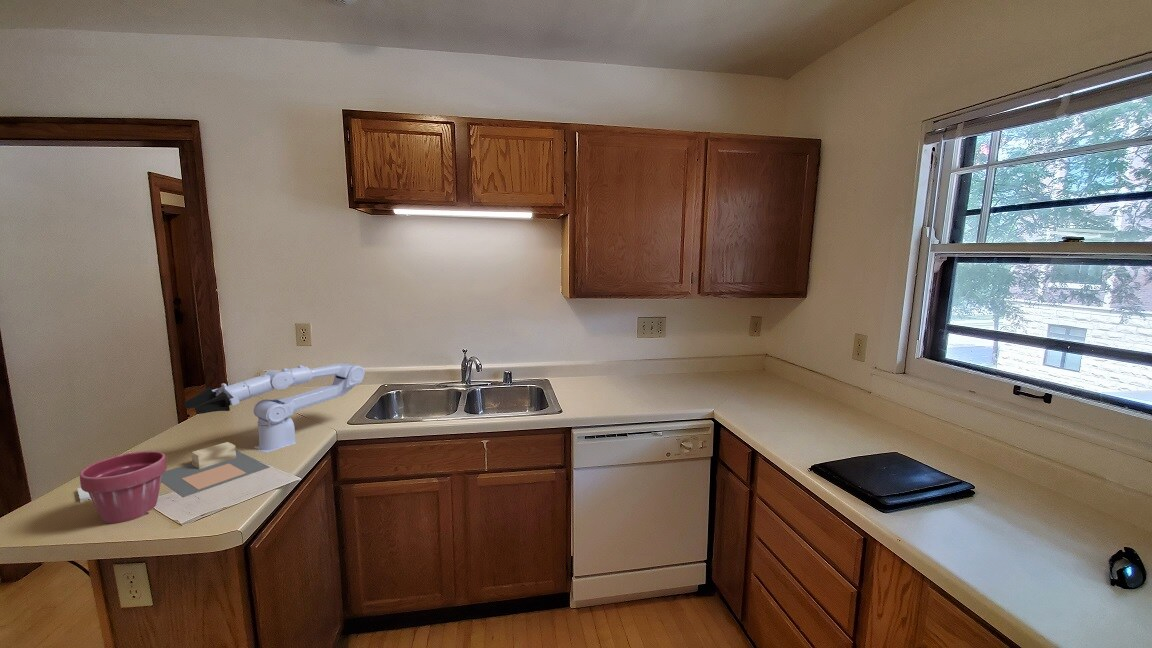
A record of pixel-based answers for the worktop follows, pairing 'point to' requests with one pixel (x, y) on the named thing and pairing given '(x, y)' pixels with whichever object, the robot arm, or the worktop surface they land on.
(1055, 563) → the worktop surface
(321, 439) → the worktop surface
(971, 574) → the worktop surface
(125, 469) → the plant pot
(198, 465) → the card box
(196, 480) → the mat
